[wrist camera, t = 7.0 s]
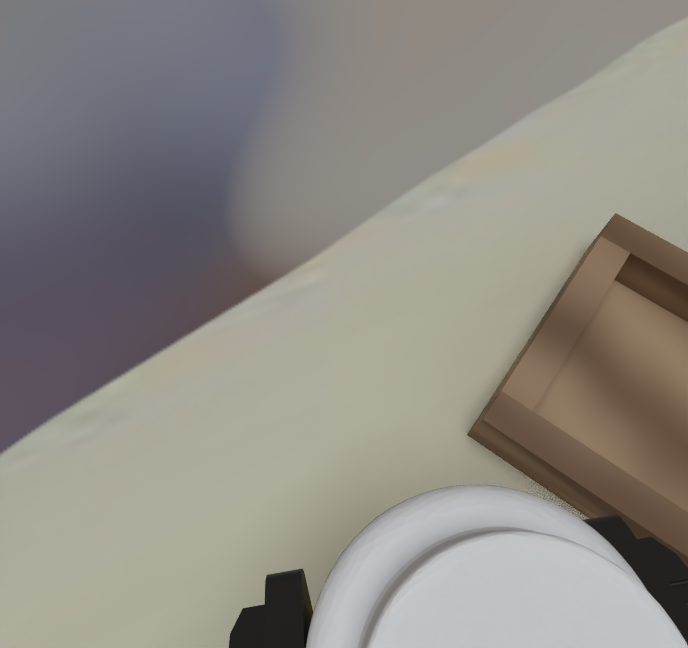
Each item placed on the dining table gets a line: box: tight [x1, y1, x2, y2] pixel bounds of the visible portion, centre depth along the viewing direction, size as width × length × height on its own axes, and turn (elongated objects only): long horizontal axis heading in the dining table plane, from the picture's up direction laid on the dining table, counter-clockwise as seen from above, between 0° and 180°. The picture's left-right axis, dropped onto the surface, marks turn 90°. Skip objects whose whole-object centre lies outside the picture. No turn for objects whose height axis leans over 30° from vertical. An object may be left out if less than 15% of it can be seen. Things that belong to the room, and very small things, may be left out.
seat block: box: [468, 213, 688, 567], centre depth 26 cm, size 12×12×4 cm
